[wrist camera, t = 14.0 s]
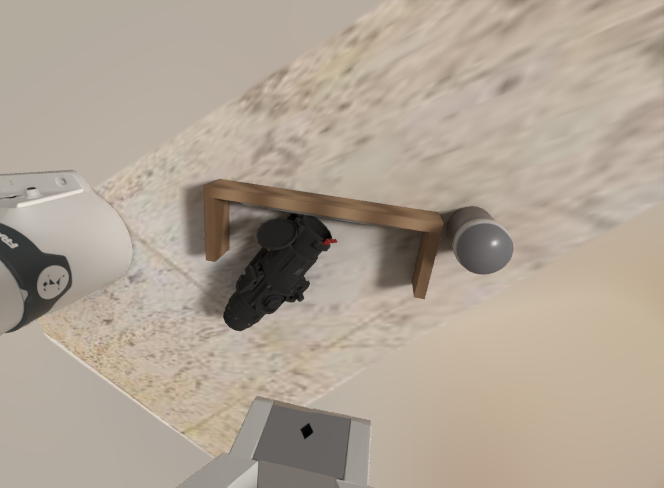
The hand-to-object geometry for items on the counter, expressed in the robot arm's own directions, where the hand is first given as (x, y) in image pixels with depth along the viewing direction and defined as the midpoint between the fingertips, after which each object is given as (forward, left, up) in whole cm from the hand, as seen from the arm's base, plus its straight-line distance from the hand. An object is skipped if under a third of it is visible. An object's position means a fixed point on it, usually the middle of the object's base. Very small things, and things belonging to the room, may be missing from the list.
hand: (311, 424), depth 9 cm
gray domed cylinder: (+12, -4, -33) cm, 35 cm away
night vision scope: (-9, -12, -33) cm, 37 cm away
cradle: (-5, -8, -33) cm, 34 cm away
